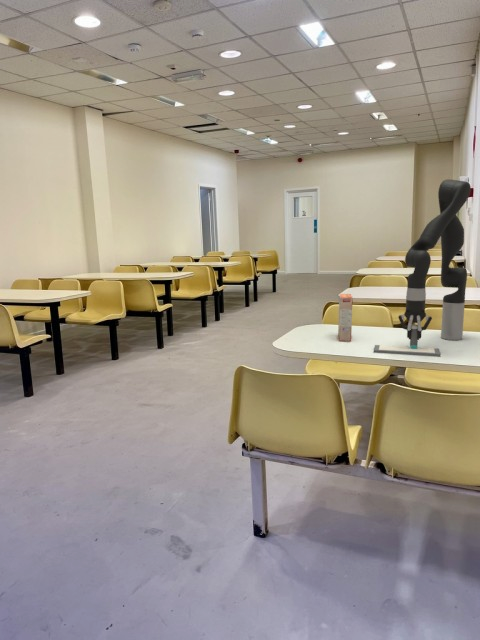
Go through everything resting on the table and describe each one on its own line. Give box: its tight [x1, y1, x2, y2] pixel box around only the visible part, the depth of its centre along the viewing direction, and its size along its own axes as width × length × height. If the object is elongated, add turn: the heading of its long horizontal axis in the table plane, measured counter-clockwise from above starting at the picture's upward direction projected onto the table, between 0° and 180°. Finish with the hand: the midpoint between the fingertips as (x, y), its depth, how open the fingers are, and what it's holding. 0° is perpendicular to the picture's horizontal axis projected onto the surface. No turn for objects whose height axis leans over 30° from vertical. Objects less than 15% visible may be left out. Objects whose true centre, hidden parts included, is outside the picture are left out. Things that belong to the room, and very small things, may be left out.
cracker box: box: [337, 293, 354, 342], centre depth 223 cm, size 14×6×21 cm, turn 170°
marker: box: [409, 323, 419, 349], centre depth 197 cm, size 3×3×10 cm
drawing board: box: [373, 344, 441, 358], centre depth 197 cm, size 10×26×1 cm, turn 70°
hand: (413, 339), depth 197 cm, fingers closed on marker, 3 cm apart
